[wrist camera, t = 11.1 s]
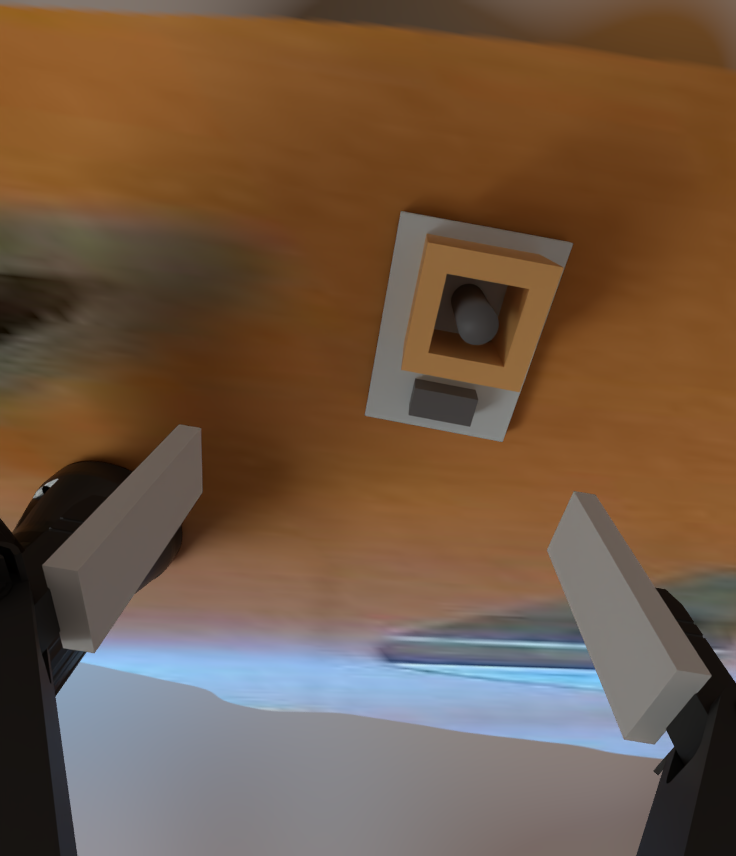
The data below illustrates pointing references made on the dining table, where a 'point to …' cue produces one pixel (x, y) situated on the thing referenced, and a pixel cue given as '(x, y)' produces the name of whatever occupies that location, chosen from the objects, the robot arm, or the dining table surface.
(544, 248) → the keeper board
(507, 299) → the link
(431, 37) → the dining table surface
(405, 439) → the dining table surface
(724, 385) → the dining table surface
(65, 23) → the dining table surface
